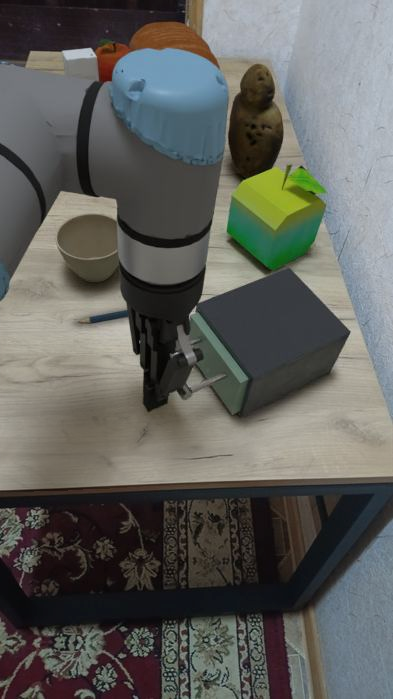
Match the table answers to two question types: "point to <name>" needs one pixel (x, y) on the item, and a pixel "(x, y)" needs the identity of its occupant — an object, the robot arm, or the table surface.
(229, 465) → the table surface
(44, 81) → the robot arm
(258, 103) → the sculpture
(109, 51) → the fruit
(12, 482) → the table surface
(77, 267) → the flower pot
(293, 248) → the apple
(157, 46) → the bread
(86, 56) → the cosmetic box
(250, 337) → the charcoal drawer box
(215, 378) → the green drawer
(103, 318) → the pencil
